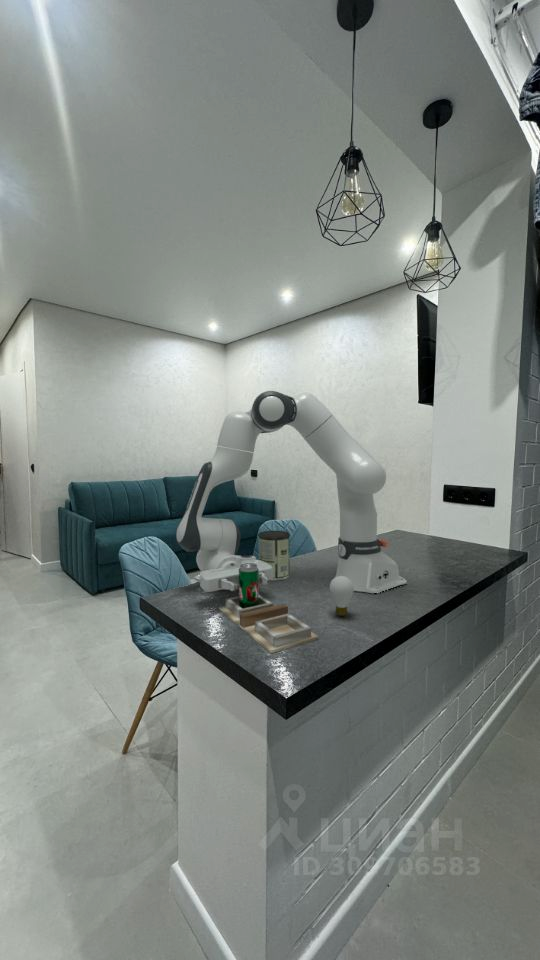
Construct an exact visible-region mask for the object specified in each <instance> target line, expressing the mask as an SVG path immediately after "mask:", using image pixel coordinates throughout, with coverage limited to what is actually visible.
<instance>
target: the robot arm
mask: <svg viewBox="0 0 540 960" xmlns="http://www.w3.org/2000/svg"><path fill="white" fill-rule="evenodd" d="M284 426H290V427H292V428H293V429H295V430H296V431H297V432H298V433H299V435H301V437H302V438H303V440H304V441H305V442H306V443H307V445H309V447H310V448H311V449H312V451H314V453H315V454H316V455H317V456H318V457H319V459H321V460H322V462H324V463H325V464H326V466H327V467H329V468H330V469H331V471H333V472H334V473H335V476H336V487H337V496H338V497H337V499H338V505H339V506H338V507H339V537H338V539H337V542H338V543H337V551H338V552H337V553H338V560H337V561H338V562H337V568H336V573H335V577H338V576H345V577H347V578H349V579H350V580H351V582H352V583H353V586H354V592H363V593H367V594H374V593H377V594H381V593H383V592H382V591H384V592H386V591H385V590H387V591H389V590H388V589H390V588H393V587H396V586H398V585H401V584H404V583H406V582H407V583H408V581H407V579H405V578H404V577H402V576H401V575H400V571H399V567H398V564H397V563H396V561H395V560H393V559H392V558H391V557H390V556H389V555H387V554H386V553H385V552H383V550H382V548H381V547H383V548H384V549H385V548H387V547H388V546H389V542H388V541H387V540H384V539H380V540H379V539H378V512H377V509H376V505H375V501H374V494H377V493H379V491H381V490H382V489H383V488H384V487H385V485H386V481H387V474H386V470H385V468H384V467H383V466H382V465H381V463H379V462H378V461H377V460H376V459H375V458H374V456H372V455H371V454H370V453H369V452H368V451H367V450H366V449H365V448H364V447H363V446H362V445H361V444H360V443H359V442H358V441H357V440H355V438H353V436H352V435H350V433H349V432H348V431H347V430H346V429H345V427H344V426H343V425H342V424H341V422H339V421H338V419H337V418H336V417H335V416H334V415H333V413H332V412H331V411H330V410H329V409H328V408H327V407H326V405H324V404H323V403H322V402H321V401H320V400H319V399H318V398H317V397H315V396H314V395H313V394H312V393H310V392H302V393H299V394H297V395H295V396H294V397H292V396H290V395H287V394H284V393H281V392H279V391H276V390H267V391H264V392H261V393H260V394H259V395H257V397H255V399H254V401H253V403H252V406H251V408H250V410H248V411H245V412H244V411H233V412H230V413H228V414H227V415H226V416H225V417H224V420H223V423H222V425H221V429H220V432H219V434H218V438H217V444H216V448H215V452H214V454H213V456H212V457H211V459H210V460H209V461H208V462H205V463H203V465H202V466H201V468H200V470H199V472H198V475H197V477H196V481H195V482H194V485H193V488H192V491H191V494H190V497H189V498H188V499H189V500H188V502H187V505H186V507H185V511H184V513H183V514H182V517H181V519H180V521H179V522H178V523H179V524H178V526H177V529H176V534H175V535H176V537H175V538H176V539H175V540H176V542H177V544H178V545H179V546H180V547H181V548H182V549H183V550H185V551H186V553H187V552H197V553H196V558H195V560H196V564H197V566H198V567H197V568H198V569H199V570H200V572H199V574H197V575H195V576H194V581H195V582H198V583H199V587H200V588H201V589H202V590H203V592H205V593H212V592H217V591H221V590H229V591H231V592H235V591H239V568H240V565H241V564H244V563H254V564H257V568H258V569H259V585H261V586H265V585H268V582H269V581H273V580H272V579H273V567H272V566H271V565H269V564H267V563H266V562H263V561H261V560H259V559H257V557H256V556H254V555H237V553H238V550H239V547H240V544H241V532H240V529H239V527H238V525H237V524H236V522H235V521H234V520H232V519H229V518H218V517H217V518H212V517H203V516H202V515H203V512H204V510H205V507H206V503H207V501H208V498H209V495H210V493H211V492H212V490H213V489H214V488H215V487H217V486H218V485H221V484H223V483H227V482H230V481H234V480H238V479H239V478H242V476H244V475H246V473H248V471H250V469H251V466H252V463H253V458H254V454H255V448H256V442H257V439H258V436H259V435H260V434H269V433H273V432H277V431H279V430H281V429H282V428H284ZM335 577H334V578H335ZM401 579H403V580H401ZM380 592H381V593H380Z"/></svg>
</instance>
